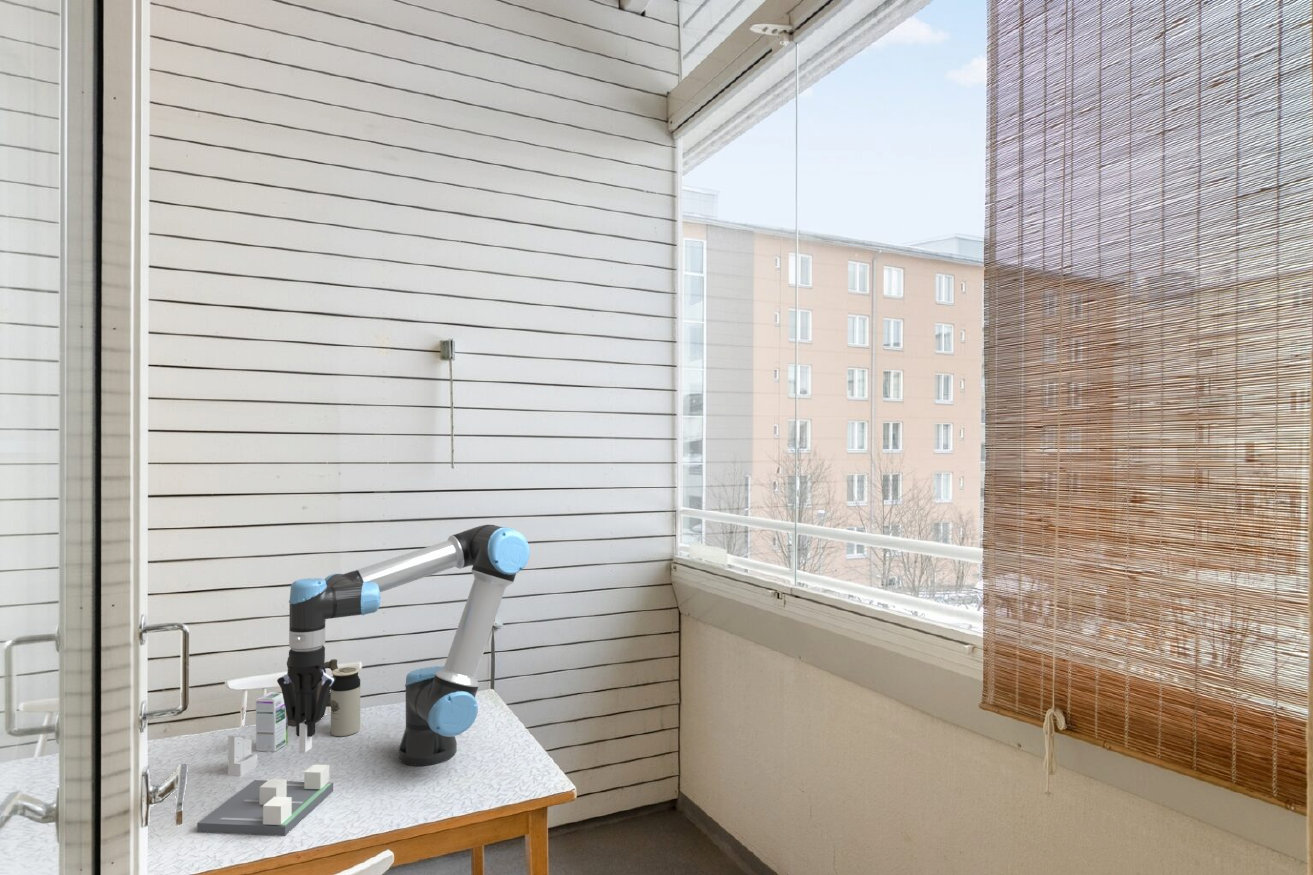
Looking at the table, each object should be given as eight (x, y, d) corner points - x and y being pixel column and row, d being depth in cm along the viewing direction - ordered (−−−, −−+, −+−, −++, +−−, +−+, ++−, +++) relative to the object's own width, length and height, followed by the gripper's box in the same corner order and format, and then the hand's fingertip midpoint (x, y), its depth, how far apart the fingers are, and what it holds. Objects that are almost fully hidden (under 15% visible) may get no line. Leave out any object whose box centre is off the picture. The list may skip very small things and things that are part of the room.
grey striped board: (333, 790, 175) (333, 782, 175) (285, 835, 155) (285, 825, 155) (254, 788, 177) (254, 779, 177) (197, 832, 157) (197, 822, 157)
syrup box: (275, 752, 197) (275, 699, 197) (255, 751, 198) (255, 698, 198) (288, 743, 203) (288, 692, 203) (268, 742, 203) (268, 691, 203)
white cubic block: (286, 796, 168) (286, 779, 168) (276, 805, 164) (276, 787, 164) (270, 795, 168) (270, 778, 168) (259, 804, 164) (259, 786, 164)
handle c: (291, 815, 159) (291, 797, 159) (280, 824, 155) (280, 806, 155) (274, 814, 160) (274, 796, 160) (263, 824, 156) (263, 805, 156)
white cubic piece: (329, 781, 175) (329, 764, 175) (320, 789, 171) (320, 772, 171) (313, 780, 176) (313, 764, 176) (304, 788, 172) (304, 771, 172)
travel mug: (354, 724, 217) (354, 664, 217) (364, 731, 211) (364, 670, 211) (326, 731, 211) (327, 669, 212) (336, 739, 206) (336, 676, 206)
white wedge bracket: (214, 772, 179) (228, 735, 184) (241, 776, 188) (253, 741, 192) (227, 774, 179) (240, 736, 183) (253, 778, 187) (265, 742, 192)
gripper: (270, 650, 162) (268, 755, 162) (325, 652, 161) (324, 758, 161) (289, 641, 170) (287, 742, 169) (342, 643, 169) (341, 744, 169)
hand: (305, 749), depth 165 cm, fingers closed
